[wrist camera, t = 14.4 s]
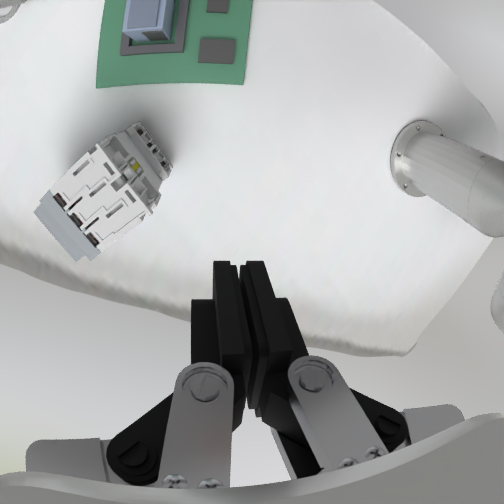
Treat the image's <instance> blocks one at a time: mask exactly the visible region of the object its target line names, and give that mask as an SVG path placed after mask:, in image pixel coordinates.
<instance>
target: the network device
mask: <svg viewBox="0 0 504 504" xmlns="http://www.w3.org/2000/svg"><path fill="white" fill-rule="evenodd" d="M24 2H26V0H0V8H3V7H7V6H12V5H13V6H12V9H11V11H10V12H9V13H8V14H7V15H6V16H4V17H0V24H1V23H4V22H6V21H8V20H9V19H10V18H11V17H12V16H13V15H14V14H15V13H16V12H17V10H18V8H19V7H20V4H21V3H24Z"/></svg>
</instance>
